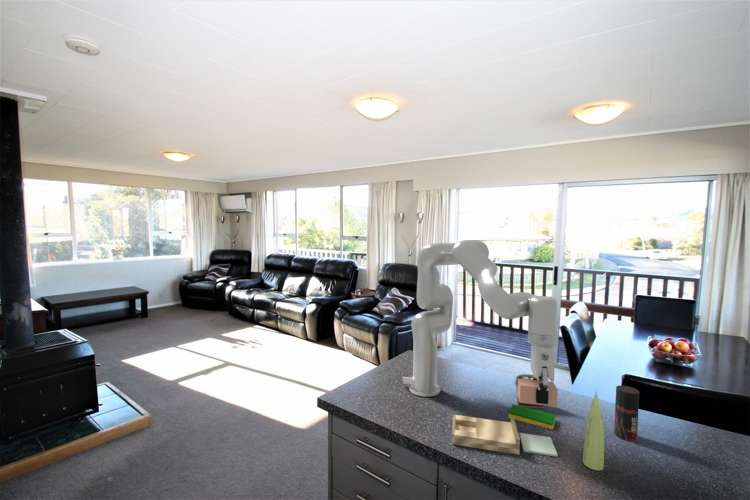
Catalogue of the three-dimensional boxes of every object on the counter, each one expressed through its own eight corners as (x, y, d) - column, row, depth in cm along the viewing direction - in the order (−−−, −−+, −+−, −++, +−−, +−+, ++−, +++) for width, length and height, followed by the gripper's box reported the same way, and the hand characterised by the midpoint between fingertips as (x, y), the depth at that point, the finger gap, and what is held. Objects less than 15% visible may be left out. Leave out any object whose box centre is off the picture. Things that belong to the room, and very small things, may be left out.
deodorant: (630, 443, 108) (632, 395, 107) (610, 433, 113) (612, 387, 112) (640, 438, 110) (643, 391, 110) (620, 429, 116) (622, 384, 115)
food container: (542, 400, 135) (543, 374, 135) (549, 408, 129) (550, 381, 129) (509, 398, 136) (510, 372, 136) (514, 406, 130) (515, 379, 130)
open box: (451, 444, 106) (451, 429, 106) (453, 423, 118) (453, 410, 117) (519, 454, 101) (519, 439, 101) (513, 432, 113) (514, 418, 113)
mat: (523, 451, 103) (523, 449, 103) (519, 434, 112) (519, 432, 112) (557, 456, 101) (557, 454, 101) (550, 439, 109) (550, 437, 109)
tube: (610, 471, 95) (613, 400, 94) (594, 474, 94) (598, 401, 93) (593, 458, 100) (596, 390, 99) (577, 460, 99) (580, 392, 98)
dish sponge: (512, 410, 128) (512, 403, 128) (555, 421, 121) (555, 414, 120) (508, 418, 122) (508, 411, 122) (552, 431, 115) (553, 424, 114)
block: (520, 385, 104) (557, 389, 102) (517, 378, 109) (553, 382, 107) (519, 402, 104) (556, 407, 102) (517, 394, 109) (552, 398, 107)
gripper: (563, 348, 95) (561, 414, 96) (549, 331, 112) (547, 388, 113) (533, 345, 97) (531, 410, 98) (523, 329, 114) (521, 385, 114)
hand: (539, 397), depth 105 cm, fingers closed on block, 5 cm apart
